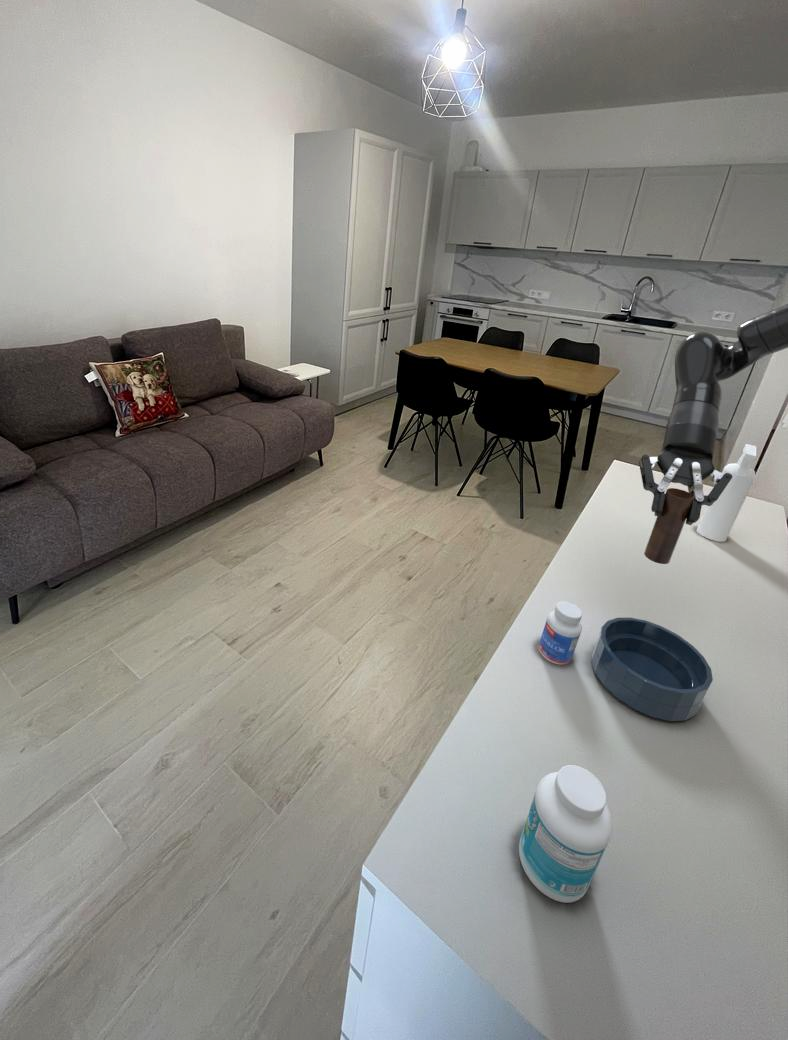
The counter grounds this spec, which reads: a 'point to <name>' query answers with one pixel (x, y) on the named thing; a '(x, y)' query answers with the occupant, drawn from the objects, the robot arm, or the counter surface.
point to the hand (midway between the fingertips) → (673, 518)
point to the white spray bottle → (729, 498)
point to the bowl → (651, 668)
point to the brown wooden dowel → (668, 526)
